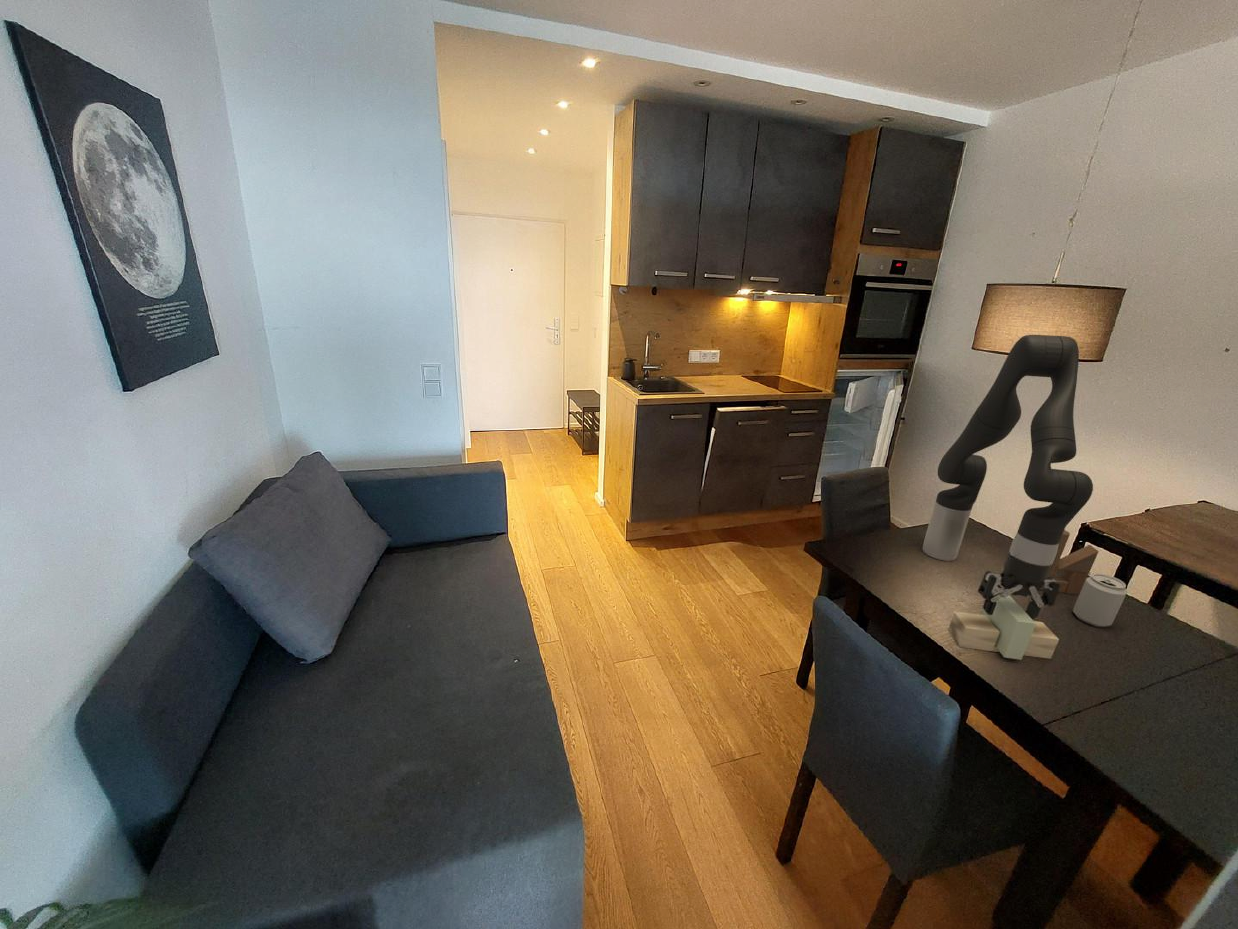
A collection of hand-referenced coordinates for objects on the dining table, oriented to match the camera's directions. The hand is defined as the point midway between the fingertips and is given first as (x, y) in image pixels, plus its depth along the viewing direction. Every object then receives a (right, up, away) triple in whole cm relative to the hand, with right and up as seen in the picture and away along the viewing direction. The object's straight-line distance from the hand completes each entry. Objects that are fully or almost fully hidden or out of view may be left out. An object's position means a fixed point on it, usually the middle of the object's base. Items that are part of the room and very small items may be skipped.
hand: (1008, 615), depth 111 cm
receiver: (0, -8, +3) cm, 8 cm away
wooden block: (+32, 0, +24) cm, 41 cm away
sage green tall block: (0, -7, +3) cm, 7 cm away
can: (+31, -5, +12) cm, 34 cm away
